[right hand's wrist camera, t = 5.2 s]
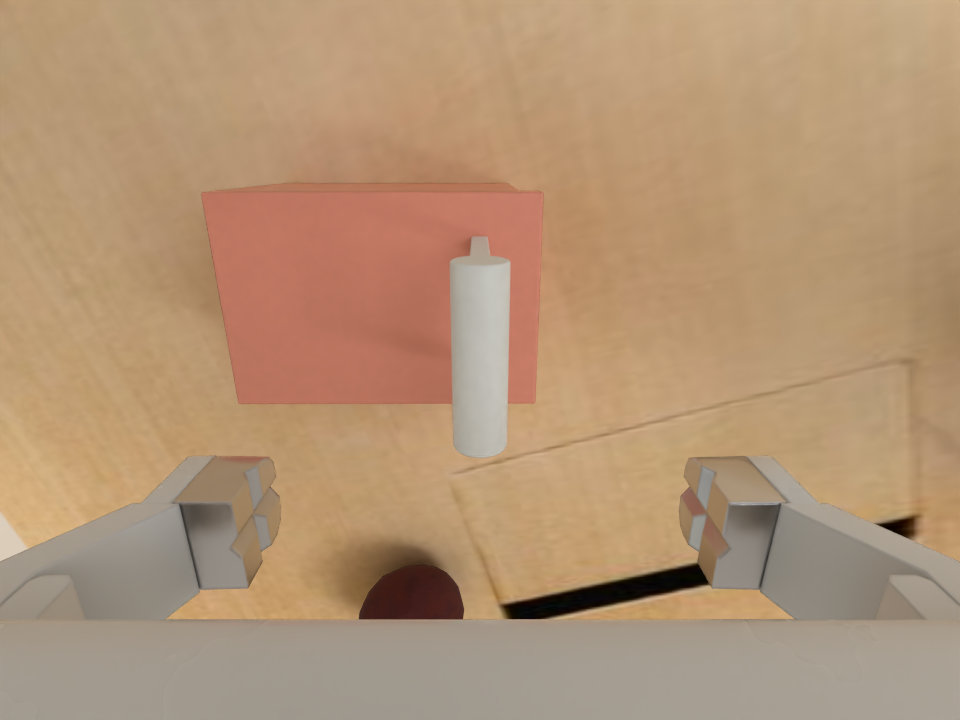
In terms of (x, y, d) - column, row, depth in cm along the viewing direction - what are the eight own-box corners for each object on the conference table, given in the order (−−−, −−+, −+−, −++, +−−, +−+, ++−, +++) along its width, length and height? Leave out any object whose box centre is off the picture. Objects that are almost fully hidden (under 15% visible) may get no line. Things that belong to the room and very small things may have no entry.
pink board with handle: (540, 190, 23) (576, 206, 15) (532, 393, 26) (558, 500, 18) (213, 191, 23) (63, 207, 15) (248, 394, 26) (142, 500, 18)
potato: (350, 583, 41) (326, 663, 35) (417, 525, 39) (405, 599, 33) (419, 633, 43) (408, 718, 37) (486, 580, 41) (488, 660, 35)
